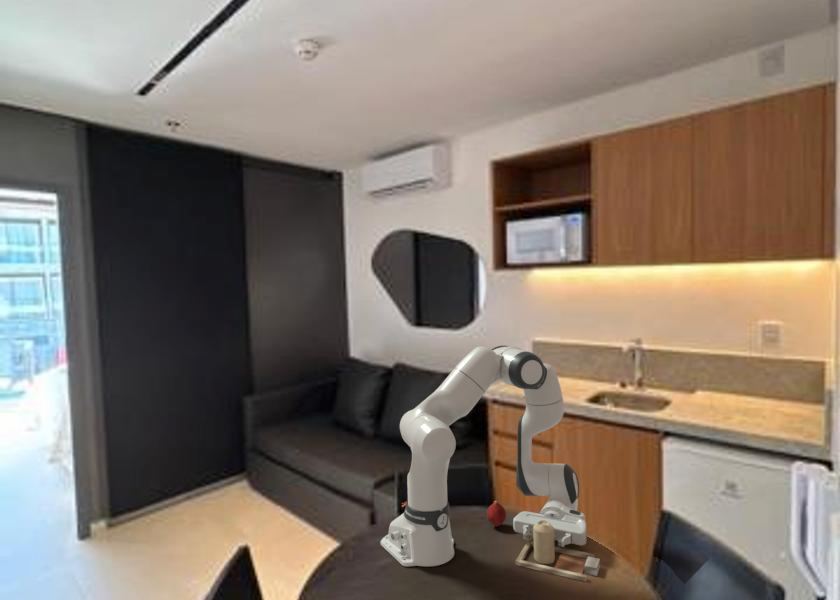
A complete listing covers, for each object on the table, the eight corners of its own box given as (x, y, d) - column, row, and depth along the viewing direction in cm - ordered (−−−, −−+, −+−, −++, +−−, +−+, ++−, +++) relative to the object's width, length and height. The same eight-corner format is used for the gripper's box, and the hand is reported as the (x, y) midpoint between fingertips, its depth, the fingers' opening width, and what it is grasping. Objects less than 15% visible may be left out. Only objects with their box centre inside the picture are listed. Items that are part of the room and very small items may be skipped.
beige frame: (515, 564, 135) (515, 557, 135) (528, 543, 146) (528, 536, 146) (594, 583, 126) (594, 575, 126) (602, 559, 137) (601, 552, 136)
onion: (496, 520, 161) (495, 495, 161) (510, 526, 157) (509, 500, 157) (483, 526, 158) (482, 500, 157) (497, 532, 153) (496, 506, 153)
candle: (555, 565, 134) (554, 528, 134) (534, 563, 135) (533, 526, 135) (554, 554, 140) (553, 518, 140) (533, 553, 141) (533, 517, 141)
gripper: (520, 502, 154) (505, 521, 142) (590, 515, 144) (581, 536, 132) (520, 522, 154) (506, 543, 142) (590, 536, 144) (581, 560, 132)
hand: (542, 540), depth 137 cm, fingers open, 8 cm apart
